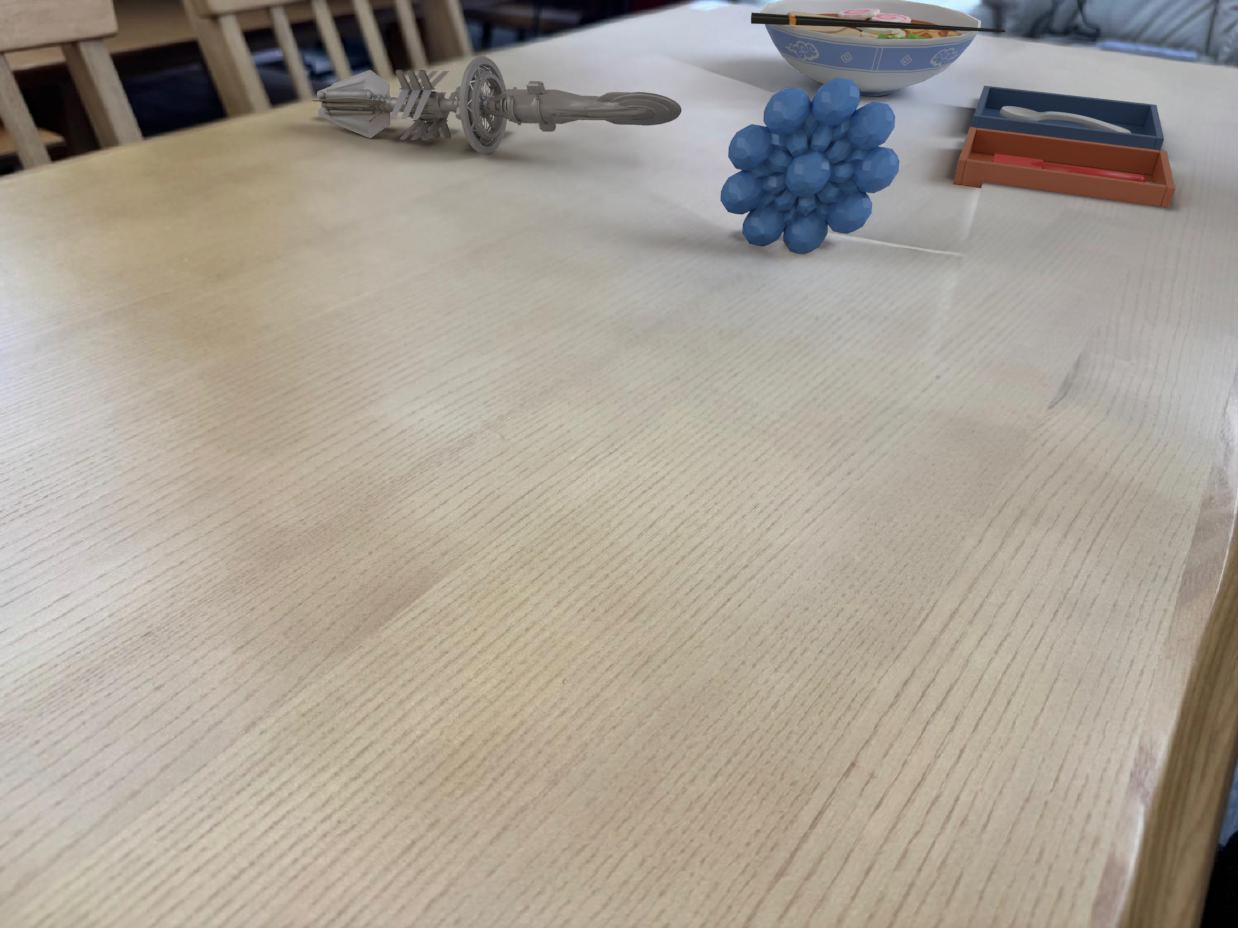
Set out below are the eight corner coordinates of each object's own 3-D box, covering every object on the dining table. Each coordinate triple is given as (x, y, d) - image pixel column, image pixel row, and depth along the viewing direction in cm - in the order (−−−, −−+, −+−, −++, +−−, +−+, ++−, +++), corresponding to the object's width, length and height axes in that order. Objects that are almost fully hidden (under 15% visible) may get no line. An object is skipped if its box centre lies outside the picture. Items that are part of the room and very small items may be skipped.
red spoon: (1142, 184, 83) (1146, 170, 82) (1143, 196, 81) (1148, 181, 80) (991, 164, 86) (995, 151, 86) (989, 175, 84) (992, 161, 83)
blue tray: (1148, 129, 98) (1156, 104, 96) (1155, 166, 88) (1164, 139, 87) (978, 109, 102) (984, 85, 101) (967, 142, 93) (973, 116, 92)
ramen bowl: (957, 69, 117) (972, -7, 112) (997, 124, 98) (1018, 36, 93) (744, 58, 119) (750, -16, 114) (743, 111, 100) (751, 24, 95)
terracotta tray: (1157, 179, 85) (1167, 151, 84) (1164, 218, 78) (1175, 188, 76) (964, 153, 90) (969, 126, 89) (952, 188, 82) (958, 159, 81)
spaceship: (658, 96, 74) (687, 34, 78) (276, 92, 86) (318, 38, 90) (675, 181, 80) (701, 119, 84) (317, 167, 92) (354, 113, 96)
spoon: (998, 117, 98) (1005, 96, 97) (1125, 144, 95) (1133, 123, 93) (994, 125, 96) (1001, 104, 95) (1124, 152, 92) (1133, 131, 91)
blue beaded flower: (879, 238, 73) (911, 67, 66) (882, 275, 67) (917, 92, 61) (722, 223, 74) (736, 55, 68) (712, 258, 69) (727, 79, 62)
